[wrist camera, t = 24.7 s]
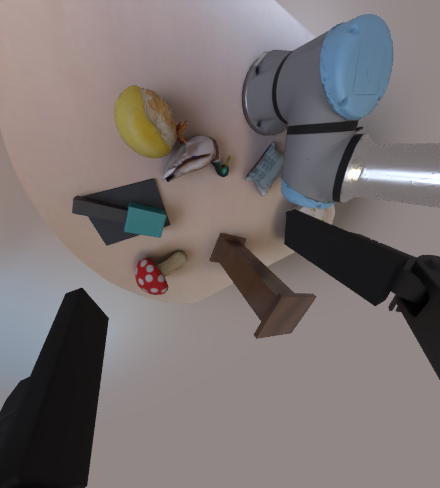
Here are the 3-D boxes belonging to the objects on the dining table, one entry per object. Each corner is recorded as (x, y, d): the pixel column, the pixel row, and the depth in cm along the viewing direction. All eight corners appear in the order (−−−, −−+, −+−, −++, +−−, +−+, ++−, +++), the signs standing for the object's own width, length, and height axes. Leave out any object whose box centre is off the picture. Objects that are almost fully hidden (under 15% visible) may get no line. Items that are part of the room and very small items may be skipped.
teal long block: (164, 209, 45) (166, 215, 42) (158, 231, 47) (160, 237, 44) (77, 188, 36) (71, 193, 33) (74, 215, 38) (69, 222, 35)
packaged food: (284, 162, 53) (296, 164, 49) (258, 195, 55) (268, 199, 51) (268, 140, 48) (280, 139, 44) (240, 176, 50) (249, 180, 46)
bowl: (302, 238, 73) (323, 250, 65) (264, 241, 65) (283, 255, 57) (321, 190, 65) (347, 198, 57) (280, 187, 57) (304, 195, 49)
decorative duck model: (244, 165, 42) (204, 215, 43) (228, 161, 47) (192, 205, 49) (201, 104, 32) (150, 171, 33) (187, 107, 37) (143, 165, 38)
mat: (153, 178, 41) (154, 178, 41) (170, 224, 48) (170, 224, 47) (77, 197, 37) (76, 198, 37) (106, 244, 44) (106, 245, 43)
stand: (246, 237, 61) (316, 296, 38) (234, 264, 65) (291, 333, 42) (219, 231, 55) (282, 296, 32) (207, 261, 59) (256, 338, 36)
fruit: (154, 166, 40) (159, 173, 32) (104, 124, 34) (96, 120, 26) (182, 129, 39) (195, 126, 31) (136, 78, 32) (138, 58, 25)
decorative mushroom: (200, 261, 47) (148, 297, 39) (195, 275, 56) (152, 307, 48) (175, 231, 50) (122, 260, 42) (174, 250, 59) (130, 276, 51)
